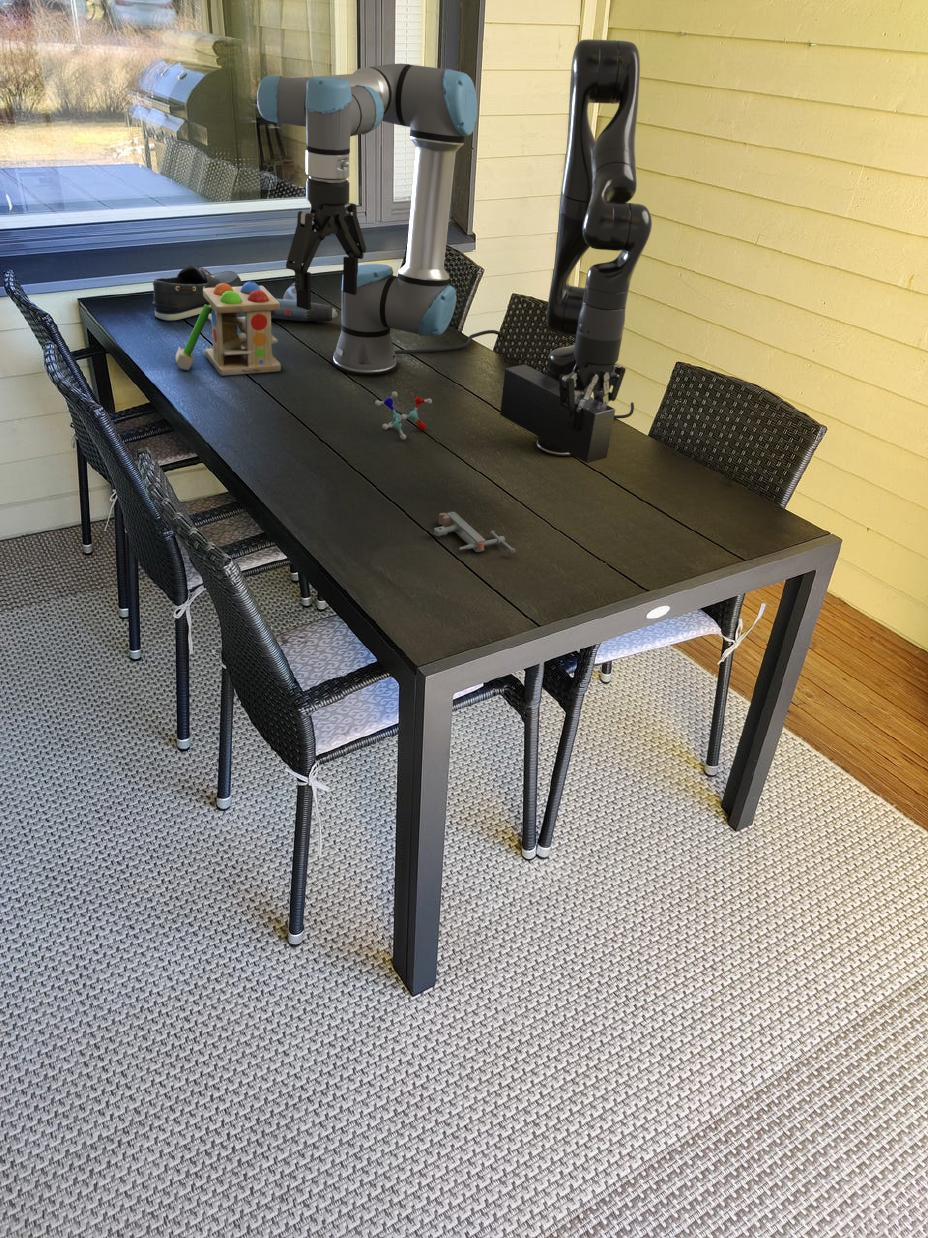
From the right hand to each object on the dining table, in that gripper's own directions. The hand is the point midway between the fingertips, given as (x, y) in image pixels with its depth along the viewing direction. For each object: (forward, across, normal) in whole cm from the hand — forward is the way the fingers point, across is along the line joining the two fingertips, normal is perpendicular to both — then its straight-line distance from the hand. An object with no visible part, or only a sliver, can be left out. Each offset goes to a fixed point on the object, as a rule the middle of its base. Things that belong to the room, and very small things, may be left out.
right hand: (584, 427), depth 171 cm
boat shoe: (+18, -6, +140) cm, 141 cm away
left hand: (-11, -22, +49) cm, 55 cm away
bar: (+5, 0, +8) cm, 9 cm away
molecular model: (+18, -6, +47) cm, 51 cm away
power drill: (+18, +17, +123) cm, 126 cm away
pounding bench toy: (+18, -21, +97) cm, 101 cm away
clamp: (+18, -22, +2) cm, 29 cm away
